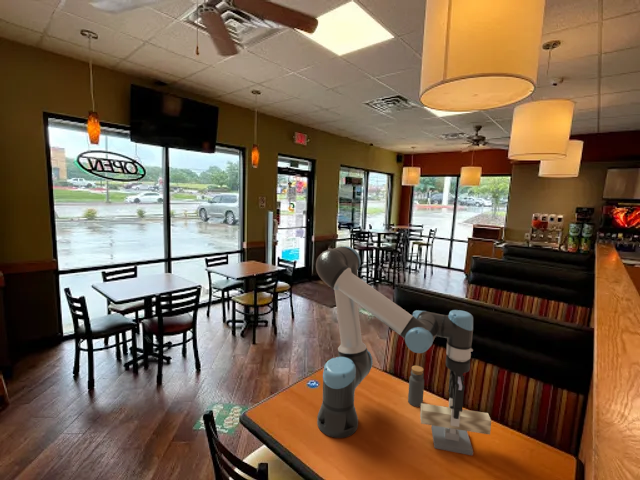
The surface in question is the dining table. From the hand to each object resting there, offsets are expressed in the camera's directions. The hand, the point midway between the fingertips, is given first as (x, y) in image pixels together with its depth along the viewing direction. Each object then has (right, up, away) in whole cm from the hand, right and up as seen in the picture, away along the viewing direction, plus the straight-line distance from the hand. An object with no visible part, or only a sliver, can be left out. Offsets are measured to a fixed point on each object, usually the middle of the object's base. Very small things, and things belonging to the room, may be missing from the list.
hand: (453, 420), depth 110 cm
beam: (0, -2, 0) cm, 2 cm away
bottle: (-7, -5, +22) cm, 24 cm away
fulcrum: (0, -8, +1) cm, 8 cm away
